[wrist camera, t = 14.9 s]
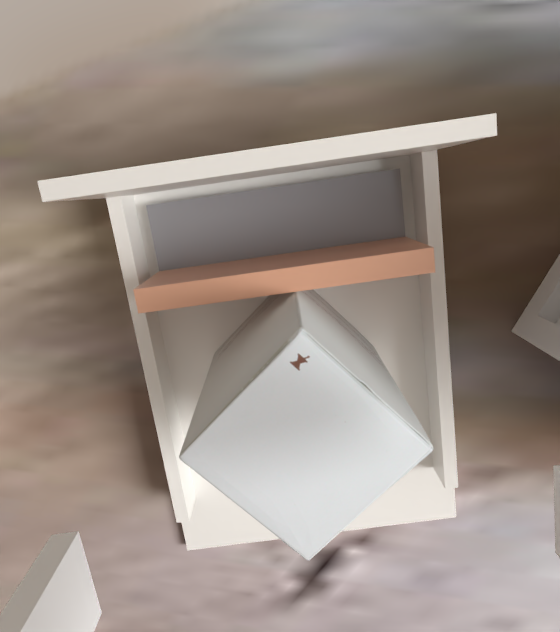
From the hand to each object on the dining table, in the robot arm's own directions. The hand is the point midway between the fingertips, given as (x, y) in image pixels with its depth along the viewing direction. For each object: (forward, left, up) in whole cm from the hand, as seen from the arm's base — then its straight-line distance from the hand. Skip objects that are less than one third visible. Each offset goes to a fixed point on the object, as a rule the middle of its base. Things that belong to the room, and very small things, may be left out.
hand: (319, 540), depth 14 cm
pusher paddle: (0, +7, -18) cm, 19 cm away
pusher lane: (0, -1, -19) cm, 19 cm away
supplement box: (0, 0, -18) cm, 18 cm away
